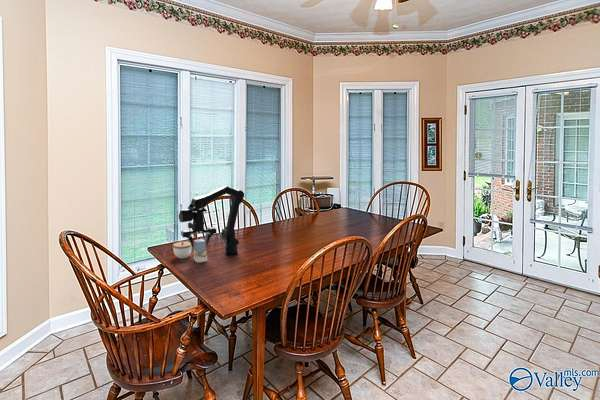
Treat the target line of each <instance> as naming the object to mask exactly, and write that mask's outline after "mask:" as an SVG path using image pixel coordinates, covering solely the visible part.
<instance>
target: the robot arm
mask: <svg viewBox="0 0 600 400" xmlns="http://www.w3.org/2000/svg"><path fill="white" fill-rule="evenodd" d="M226 194H227V195H229V196H230V208H229V212H228V217H227V223H226V227H224V228H222V229H221V233H220V236H221V237H220V238H221V240H222V241H223V242H224V244H225V246H224V254H226V255H227V256H229V257H230V256H234V255H239V253H238V245H239V244H240V243H239V242H240V241H239V239H236V230H235V226H236V222H237V217H238V212H239V207H240V205H241V204H242V202H243V200H244V198H245V192H244V191H243V190H241V189H237V188H232V187H230V186H228V185H223V186H221V187H219V188H217V189H215V190H213V191H210V192H209V193H207V194H203V195H199V196H198V195H197V196H195V197H193V198H191V201H190V203H189V206H187V209H179V213H178V220H179V222H180V223H187V222H188V223H187V227H188V228H187V229H183V230H182V229H181V232H180V236H181V237H182V238H186V239H188V240H189V241H188V242H190V243H191V246H192V249H194V238H193V236H192V235H196V234H197V235H198V234H200V235H201V234H205V247H207V246H208V243H209V242H210V239H211V237H212V236H214V234H217V229H216V227H214V226H209V227H207V228H206V229H205V220H204V219H205V218H204V215H205V214H204V213H205V212H206V213H207V212H208V210H207V209H206V208H205V207H206V206H207V205H208V204H209V203H211V202H212V201H214V200H216V199H218V198H220V197H223V196H225V195H226ZM190 229H191V230H190Z"/></svg>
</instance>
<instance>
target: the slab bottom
mask: <svg viewBox="0 0 600 400" xmlns="http://www.w3.org/2000/svg"><path fill="white" fill-rule="evenodd" d="M193 260H194V262H195V263H196V262H197V264H199V263H204V262H208V256H207V255H206V257H201V258H195V256H194V255H193ZM198 262H199V263H198Z"/></svg>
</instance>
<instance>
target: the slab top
mask: <svg viewBox="0 0 600 400" xmlns="http://www.w3.org/2000/svg"><path fill="white" fill-rule="evenodd" d="M194 256H195V258H201V257H206V256H207V250H206V251H204V252H198V253H197V252H196V251H195V250H194V249H193V257H194Z"/></svg>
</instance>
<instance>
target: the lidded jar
mask: <svg viewBox="0 0 600 400" xmlns="http://www.w3.org/2000/svg"><path fill="white" fill-rule="evenodd" d="M172 249H173V251H172V252H173V253H174V255H175V256H176V257H177V258H178V259H187V258H189V256H190V255H191V254H192V252H193V251H192V249H193V248H192V246H191V243H190V241H179V242H175V243H173V244H172Z"/></svg>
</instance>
